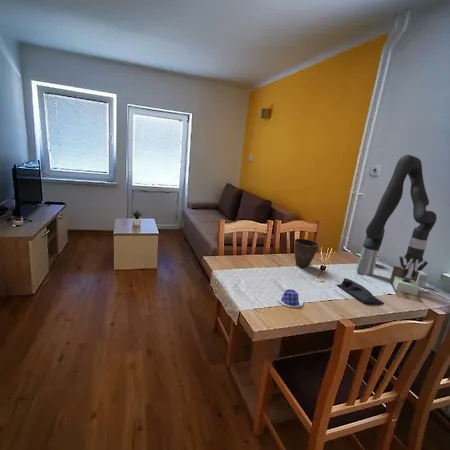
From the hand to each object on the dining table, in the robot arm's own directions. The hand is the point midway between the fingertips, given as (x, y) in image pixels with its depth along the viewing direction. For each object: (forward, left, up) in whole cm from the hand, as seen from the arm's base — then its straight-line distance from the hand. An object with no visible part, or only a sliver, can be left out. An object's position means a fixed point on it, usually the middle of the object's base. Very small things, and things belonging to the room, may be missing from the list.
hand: (408, 275), depth 150 cm
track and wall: (0, -3, -9) cm, 10 cm away
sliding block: (0, 0, -8) cm, 8 cm away
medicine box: (+10, +15, -10) cm, 21 cm away
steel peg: (0, 0, -4) cm, 4 cm away
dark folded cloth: (-25, -21, -10) cm, 34 cm away
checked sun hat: (-57, -51, -10) cm, 77 cm away
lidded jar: (-14, +40, -10) cm, 44 cm away
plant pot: (-57, +2, -10) cm, 58 cm away
